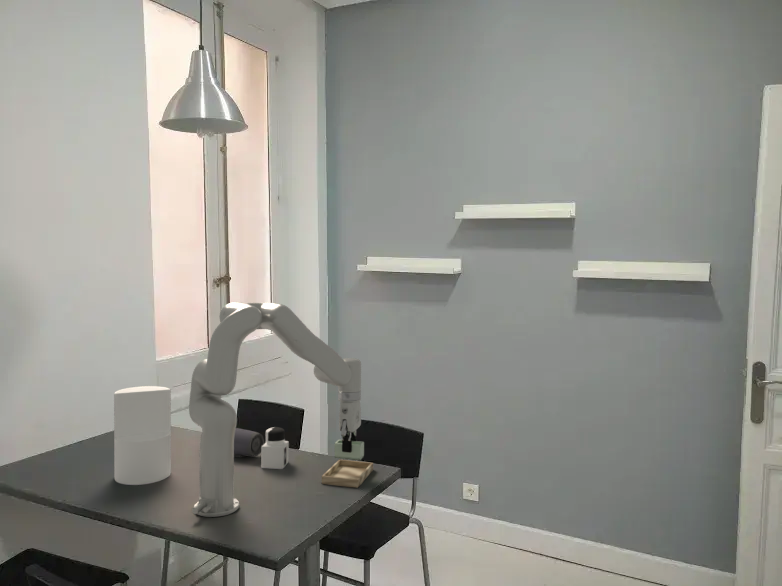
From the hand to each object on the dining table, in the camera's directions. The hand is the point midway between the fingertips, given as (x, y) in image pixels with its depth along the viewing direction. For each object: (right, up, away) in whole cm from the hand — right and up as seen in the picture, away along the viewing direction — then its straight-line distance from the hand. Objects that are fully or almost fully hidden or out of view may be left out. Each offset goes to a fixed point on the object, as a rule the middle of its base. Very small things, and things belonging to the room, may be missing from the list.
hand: (349, 449), depth 203 cm
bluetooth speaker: (-45, -8, +21) cm, 50 cm away
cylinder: (-68, -8, -2) cm, 69 cm away
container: (-27, -8, +10) cm, 30 cm away
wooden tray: (0, -9, 0) cm, 9 cm away
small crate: (0, -3, 0) cm, 3 cm away
